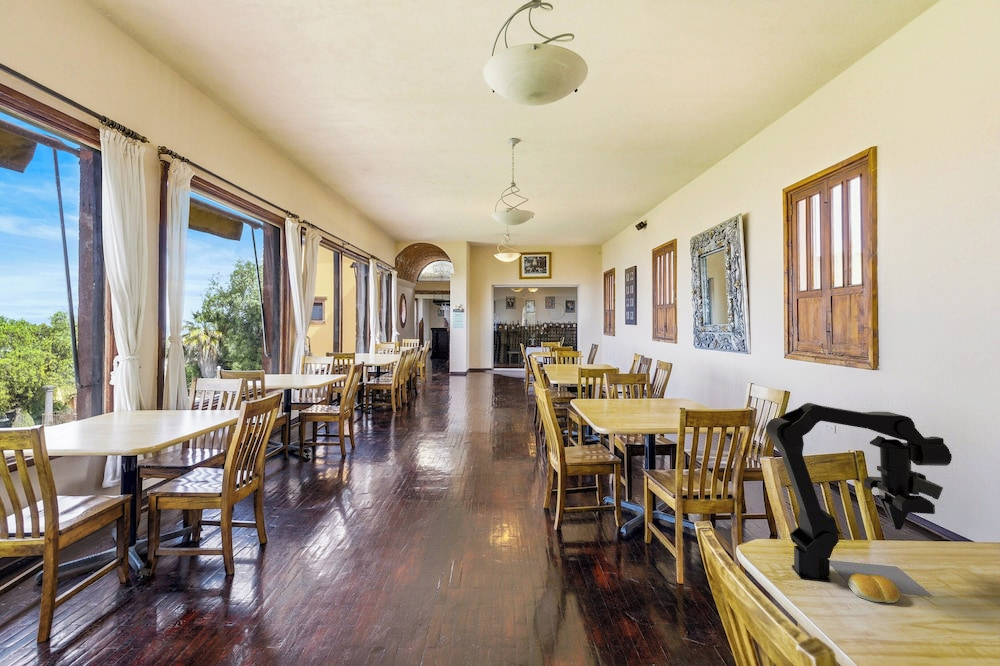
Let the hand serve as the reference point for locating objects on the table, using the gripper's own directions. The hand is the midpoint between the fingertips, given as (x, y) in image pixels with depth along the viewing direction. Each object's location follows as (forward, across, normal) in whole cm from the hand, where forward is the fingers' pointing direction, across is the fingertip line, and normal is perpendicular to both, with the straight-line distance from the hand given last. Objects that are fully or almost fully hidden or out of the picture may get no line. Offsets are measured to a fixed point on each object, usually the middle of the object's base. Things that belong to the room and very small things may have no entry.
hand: (897, 529), depth 113 cm
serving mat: (+12, 0, +5) cm, 13 cm away
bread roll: (+12, -7, +7) cm, 16 cm away
